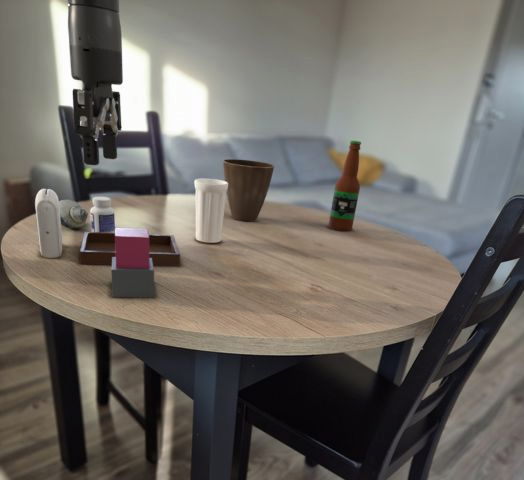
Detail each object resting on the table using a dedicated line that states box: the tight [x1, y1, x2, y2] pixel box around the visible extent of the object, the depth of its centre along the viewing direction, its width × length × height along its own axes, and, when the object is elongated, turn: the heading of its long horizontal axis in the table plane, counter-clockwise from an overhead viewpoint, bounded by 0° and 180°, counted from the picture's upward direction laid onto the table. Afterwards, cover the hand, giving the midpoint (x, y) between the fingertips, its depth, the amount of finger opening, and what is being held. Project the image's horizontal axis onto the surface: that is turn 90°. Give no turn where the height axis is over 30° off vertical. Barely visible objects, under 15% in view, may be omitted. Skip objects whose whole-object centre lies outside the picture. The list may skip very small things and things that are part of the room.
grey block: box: [110, 257, 155, 298], centre depth 86 cm, size 7×7×5 cm
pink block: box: [115, 227, 149, 269], centre depth 83 cm, size 6×6×6 cm
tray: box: [79, 231, 181, 267], centre depth 104 cm, size 20×15×3 cm
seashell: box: [59, 198, 89, 230], centre depth 117 cm, size 6×8×12 cm
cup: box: [193, 177, 228, 244], centre depth 117 cm, size 8×8×14 cm
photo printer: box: [34, 188, 63, 259], centre depth 98 cm, size 10×4×12 cm, turn 20°
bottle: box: [328, 140, 362, 232], centre depth 143 cm, size 7×7×25 cm
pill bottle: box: [90, 196, 116, 233], centre depth 112 cm, size 5×5×9 cm
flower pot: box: [222, 158, 275, 222], centre depth 143 cm, size 15×15×16 cm
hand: (101, 161), depth 79 cm, fingers open, 8 cm apart
